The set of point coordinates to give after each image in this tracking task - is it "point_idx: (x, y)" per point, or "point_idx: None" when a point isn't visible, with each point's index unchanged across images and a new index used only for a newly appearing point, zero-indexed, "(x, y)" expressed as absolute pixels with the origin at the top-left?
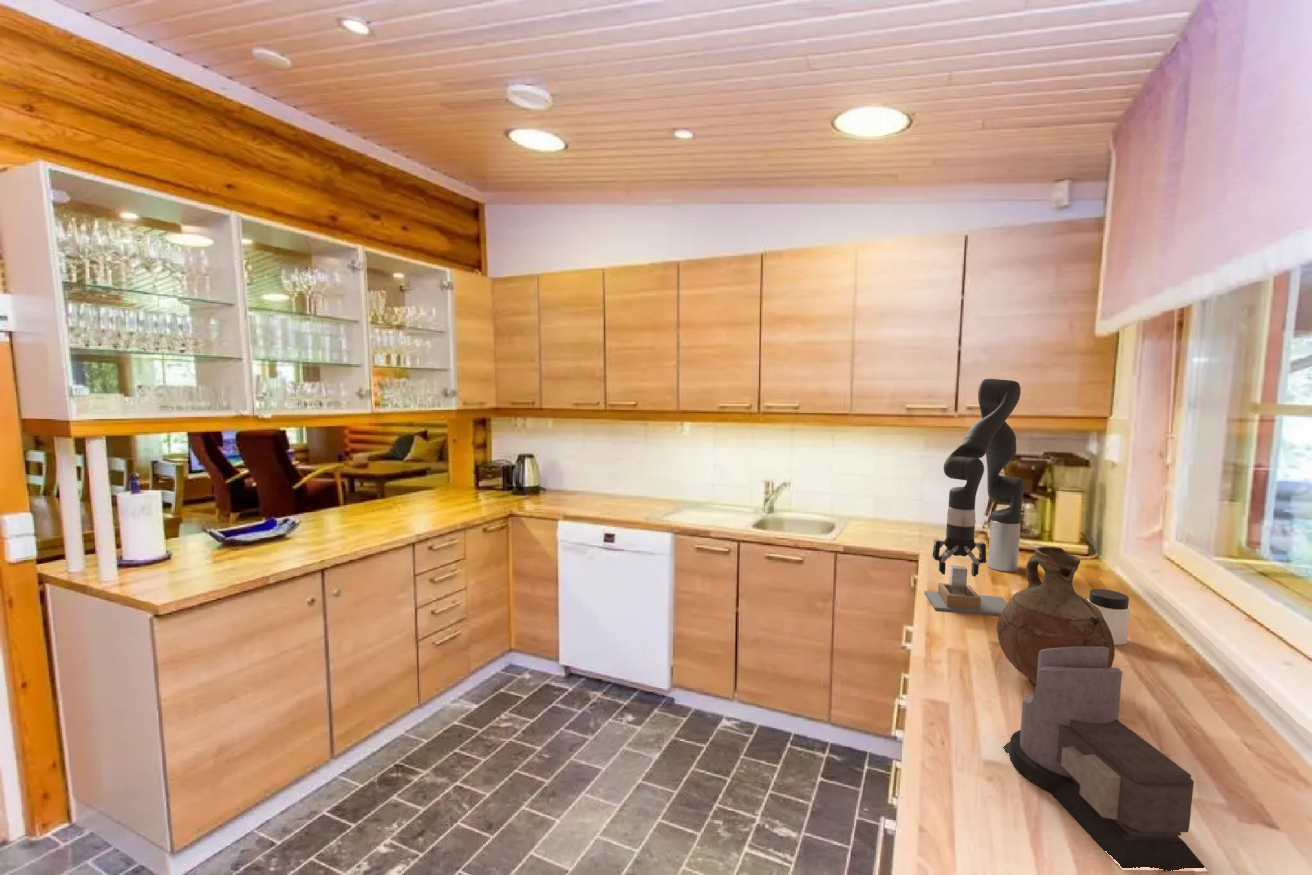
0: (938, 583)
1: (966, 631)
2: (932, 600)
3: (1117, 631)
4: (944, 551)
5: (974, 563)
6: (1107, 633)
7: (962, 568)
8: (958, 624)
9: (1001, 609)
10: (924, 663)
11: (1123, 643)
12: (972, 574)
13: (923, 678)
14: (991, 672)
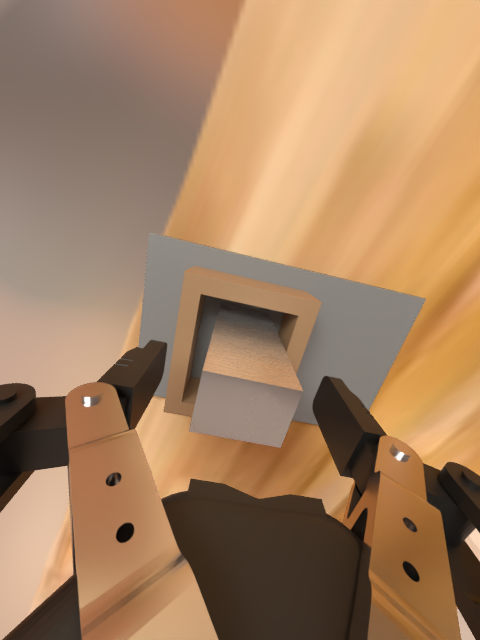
0: (185, 272)
1: (170, 492)
2: (146, 338)
3: None
4: (71, 478)
5: (353, 477)
6: None
7: (256, 433)
8: (167, 464)
9: None
10: (46, 581)
11: None
12: (319, 396)
13: (36, 607)
14: None
